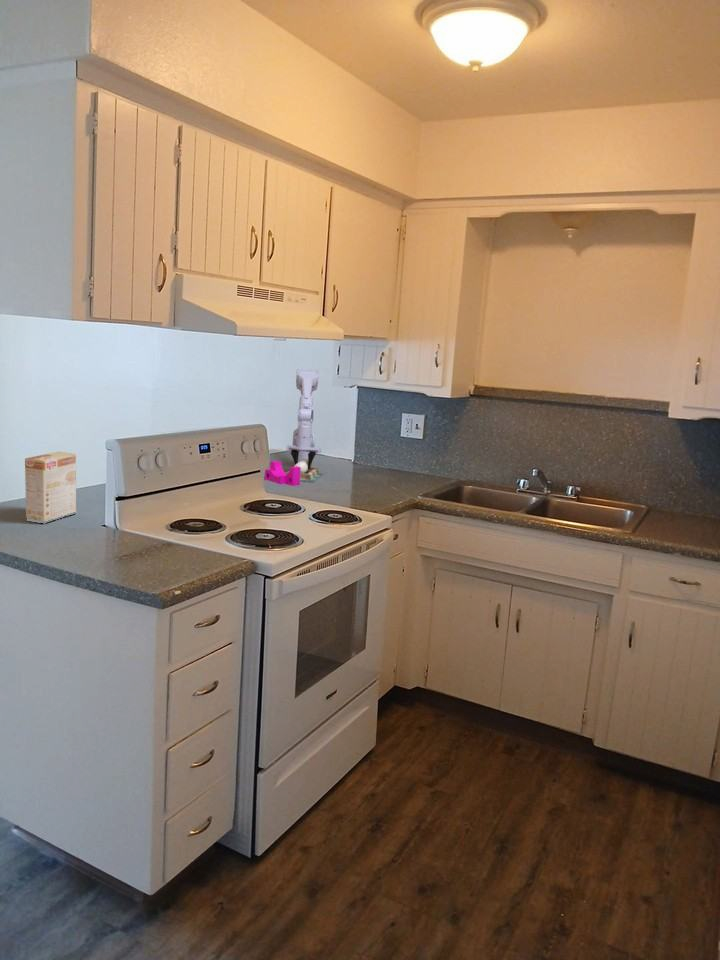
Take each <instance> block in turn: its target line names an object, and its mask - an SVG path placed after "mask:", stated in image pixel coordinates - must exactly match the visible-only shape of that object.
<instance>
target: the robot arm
mask: <svg viewBox="0 0 720 960" xmlns="http://www.w3.org/2000/svg"><path fill="white" fill-rule="evenodd" d="M295 380H296V381H295V385H296V389H297V390H299V391H300V395H301V396H300V397H299V407H298V410H297V428H296V429H294V430H293V433H292V444H291V445H290V444H288V445H286V449H285V450H286V451H290V455H291V456H292V460H293V463H294V464H293V467H294V466H295V465H296V464H297V463H299V462H300V461H301V460H303V459H308V469H310V467H314V466H312V465H311V464H312V462H313V461H314V458H315V457H316V455H317V454H321V452H322V448H321V447H316V446H315V443H316V441H315V440H316V434H315V431H314V430H313V427H312V426H313V421H314V411H315V410H314V406H313V405H314V397H313V396H312V394H313V393H314V392H315V391H317V389H318V386H319V370H309V369H308V370H307V369H296V377H295Z"/></svg>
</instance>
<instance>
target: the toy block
mask: <svg viewBox="0 0 720 960" xmlns="http://www.w3.org/2000/svg"><path fill="white" fill-rule="evenodd" d="M282 465H283V464H282V461H279V460H272V461H269V468H265V469H266V470H265V469H264V480H265V481H268V480H269V481H268V482H271V481H272V483H274V482H275V484H279V485H284V484H285V485H288V486H291V487H294V486H295V487H296V486H300V485H301V481H300V471H301V467H298V466H297V467H294V466H290V467H289V470H288V471H289V473H288V474H286V471H284V469H283V466H282Z"/></svg>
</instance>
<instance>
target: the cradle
mask: <svg viewBox="0 0 720 960" xmlns="http://www.w3.org/2000/svg"><path fill="white" fill-rule="evenodd" d="M285 473H286V474H288V473H289V470H288V471H285ZM322 474H323V475H324V472H319V467H318V466H317V467H316V466H313V467H311V468H310V469H309V470H308V471H306V472H305V473H300V482H303V481H304V482H303V483H314V482H316V481H317V480H318V479H319V478H321V476H322ZM318 477H319V478H318ZM317 478H318V479H317ZM316 479H317V480H316ZM315 480H316V481H315Z"/></svg>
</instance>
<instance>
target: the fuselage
mask: <svg viewBox="0 0 720 960" xmlns="http://www.w3.org/2000/svg"><path fill="white" fill-rule="evenodd" d="M297 466H298V467H301V471H300V473H305V472H306V471H308V470H309V469H308V459H303V460H301V461H300V462H299V463H297V464H296V465H295V466H294V465H293V467H297ZM311 466H312V464H311ZM310 468H311V467H310Z"/></svg>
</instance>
